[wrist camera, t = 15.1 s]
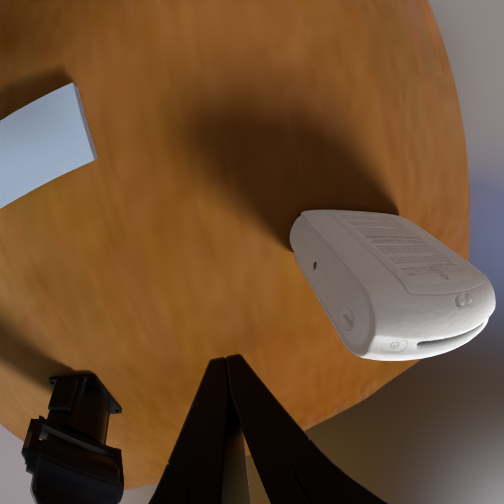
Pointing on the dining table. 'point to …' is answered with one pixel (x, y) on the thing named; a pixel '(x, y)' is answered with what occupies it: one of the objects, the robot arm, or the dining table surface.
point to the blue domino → (43, 142)
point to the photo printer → (390, 284)
